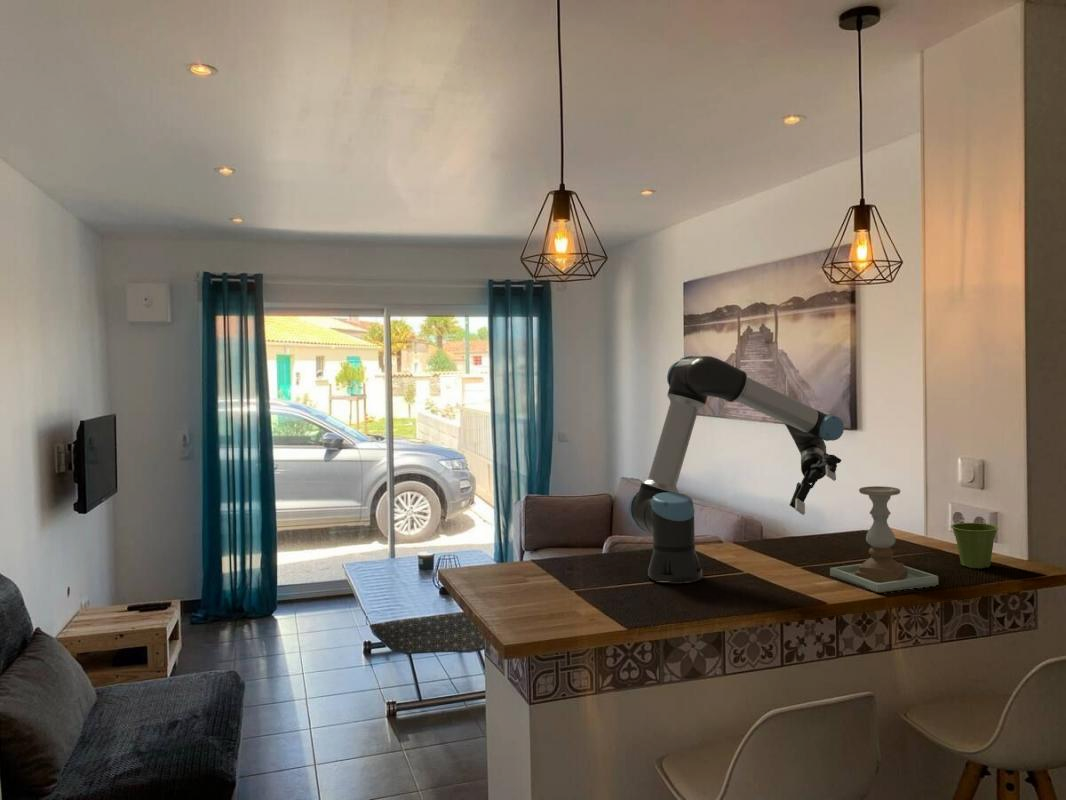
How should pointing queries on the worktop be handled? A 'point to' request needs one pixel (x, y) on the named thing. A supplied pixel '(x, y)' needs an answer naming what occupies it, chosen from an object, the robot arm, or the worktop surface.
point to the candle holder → (881, 540)
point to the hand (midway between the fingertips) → (815, 494)
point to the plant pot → (975, 543)
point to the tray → (911, 581)
